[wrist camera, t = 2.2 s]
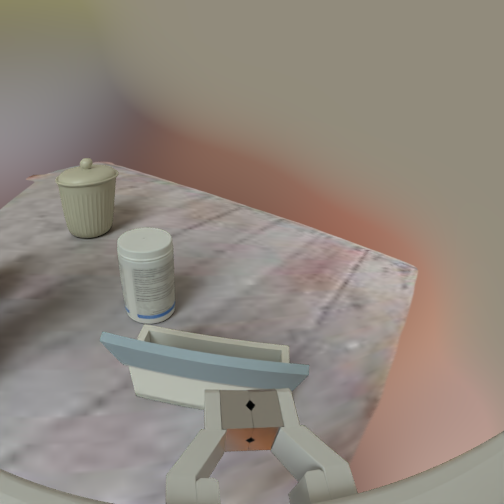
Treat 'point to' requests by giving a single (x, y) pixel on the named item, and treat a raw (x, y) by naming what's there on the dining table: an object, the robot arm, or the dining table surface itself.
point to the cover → (204, 365)
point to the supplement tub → (147, 274)
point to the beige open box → (192, 390)
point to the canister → (88, 198)
